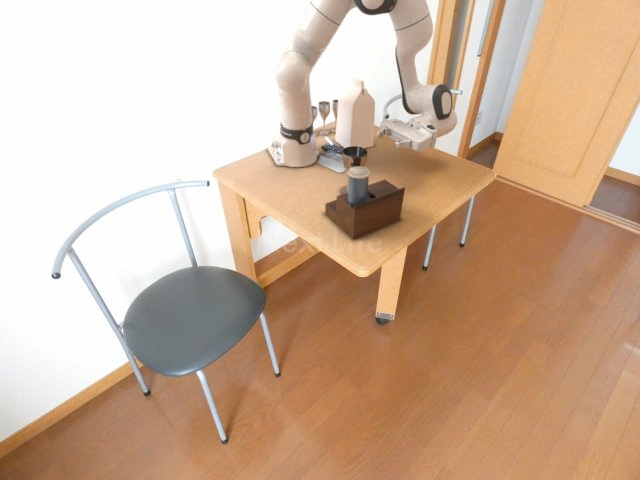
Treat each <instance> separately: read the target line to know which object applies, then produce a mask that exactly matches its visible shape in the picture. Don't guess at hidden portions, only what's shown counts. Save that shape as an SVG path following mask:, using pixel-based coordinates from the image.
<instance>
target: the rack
mask: <svg viewBox="0 0 640 480" xmlns="http://www.w3.org/2000/svg"><path fill="white" fill-rule="evenodd" d="M405 191H406V187H401V188H399V187H397V186H395V185H394V184H392V183H391V182H390V181H388V180H386V179H385V178H384V179H382V180H379V181H376V182H373V183H370V184H368V192H367V201H366V202H363V203H360V204H357V205H355V204H351V203H350V202H348V200H347V193H344V194H343V193H341V194H339V195H336V199H334V200H331V201H329V202H326V203H324V204H325V208H324V209H325V210H324V211H325V212H324V214H325V216H327V217H328V218H329V219H330V220H331V221H332V222H333V223H335V225H336V226H338V227H339V228H340V229H341V230H342V232H344V233H345V234H346V235H348V237H350V239H352V240H355V239H357V238H359V237H362V236H365V235H367V234H370V233H372V232H374V231H376V230H379V229H381V228H383V227H386V226H388V225H391V224H393V223H395V222H398V221H400V220H401V217H402V216H401V215H402V209H403V203H404V198H405Z"/></svg>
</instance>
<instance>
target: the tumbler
mask: <svg viewBox="0 0 640 480" xmlns="http://www.w3.org/2000/svg"><path fill="white" fill-rule="evenodd" d="M370 173H371V171H370V169H369V168H367V167H366V166H365V167H361V166H355V167H352V168H350V169H349V170H348V172H347V174H348V175H347V187H348V192H347V200H348V202H350V203H351V204H355V205H357V204H360V203H363V202H366V201H367V192H368V185H369V181H370Z"/></svg>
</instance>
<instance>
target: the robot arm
mask: <svg viewBox="0 0 640 480" xmlns="http://www.w3.org/2000/svg"><path fill="white" fill-rule="evenodd" d="M355 8H357V10H358V11H360V13H362V14H364V15H367V16H378V15H383V14H384V15H385V14H388V16H389V17H390V20H391V22H392V23H391V24H392V26H393V30H394V32H395V37H396V38H395V39H396V46H395V49H394V50H395V51H394V54H395V62H396V67H397V73H398V77H399V82H400V87H401V103H402V107H403V109H404V111H405V112H406V113H407V114H409V115H413V116H414V115H420V116H416V117H413V118H410V119H409V120H407V122H405V121H403V120H401V119H398V118H393V119H387V120H383V121H381V122H380V124H379V126H380V127H379V130H377V132H376V137H377V138H380V139H381V138H384V135H385V136H387V137H389V138H391V139H392V140H394V141H395V142H394V147H395V148H397V149H401V148H409V149H411V150H413V151H415V152H420V153H421V152H422V153H423V152H426V151H428V150H431V149H435V146H436V143H437V139H438V138H441V137H443V136H446V135H448V134H450V133H451V132H452V131H453V130H454V129H456V127H457V124H458V116H457V113H456V112H455V110H454V108H453V94H452V91H451V89H450V88H449V87H448V85H446V84H444V83H437V84H434V83H433V84H421V83H420V82H419V80H418V73H417V68H416V60H415V59H416V56H417V54H418V53H419V52H421V51H422V50H423V49H425V48H426V47H427V45H428V44H429V43H430V41H431V40H432V37H433V34H434V24H433V20H432V15H431V12H430V8H429V5H428V1H427V0H311V1H310V2H309V4H308V6H307V8H306V10H305V11H304V14H303V16H302V18H301V20H300V21H299V24H298V25H297V27H296V29H295V31H294V33H293V35H292V36H291V39H290V40H289V42H288V44H287V46H286V48H285V50H284V52H283V54H282V56H281V57H280V59H279V61H278V62H277V64H276V67H275V70H274V71H275V73H274V76H275V82H276V87H277V93H278V98H279V103H280V116H281V117H280V118H281V121H280V124H279V126H280V128H279V132H277V134H275V135H274V136H273V139H272V140H273V141H272V142H271V145H270V146H269V147H268V148H267V151H268V153H269V154H270V156H271V158H272V159H273V161H274V163H275V165H276V166H281V167H282V166H283V167H285V166H286V167H290V168H304V167H309V166H311V165H312V164H313V165H314V163H316V161H317V159H318V156H320V151H319V150H318V149H317V139H316V137H317V136H315V135H314V134H313V132H314V122H313V123H312V110H311V106H312V98H311V97H312V96H311V86H310V85H311V84H310V79H311V74H312V71H313V70H314V68H315V66H316V64H317V63H318V61H319V60H320V58H321V57H322V55H323V54H324V53H325V51H326V50H327V48H328V46H329V45H330V43H331V42H332V40H333V38H334V36H335V35H336V34H337V32H338V30H339V28H340V27H341V25H342V24H343V21H344V20H345V18H346V16H347V15H348V14H349V12H350V11H352V10H353V9H355ZM325 140H326V141H327V142H328V143H329V144H330V146H333V142H332V141H331V140H330V139H329V138H328V137H327V136H325Z"/></svg>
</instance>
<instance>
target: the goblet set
mask: <svg viewBox="0 0 640 480" xmlns="http://www.w3.org/2000/svg"><path fill="white" fill-rule="evenodd" d="M338 100H339V99H333V100H332V103H331V102H330V101H327V100H326V101H324V100H322V101H319V102H318V105H317V106H314V105H311V110H312V123H313V124H314V123H315V121H316V120H317V117H318V115H319V116H320V117H321V119H322V122H323V129H322V130H319V131H318V133H317V132H314V131H313V134H314V135H315V137H317V136H318V134H319V135H323V136H325V135H329V134H330V131H329V130H326V127H325V126H326V120H327V118H328V117H329V115H330V112H331V111H332V113H333V117H334V120H335V122H334V123H335V124H334V125H335V127H334V128H332V129H331V132H332V133H336V124H337V112H338Z"/></svg>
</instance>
